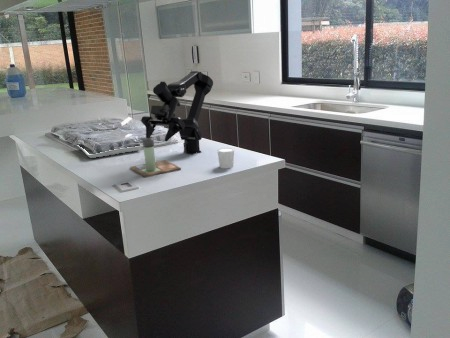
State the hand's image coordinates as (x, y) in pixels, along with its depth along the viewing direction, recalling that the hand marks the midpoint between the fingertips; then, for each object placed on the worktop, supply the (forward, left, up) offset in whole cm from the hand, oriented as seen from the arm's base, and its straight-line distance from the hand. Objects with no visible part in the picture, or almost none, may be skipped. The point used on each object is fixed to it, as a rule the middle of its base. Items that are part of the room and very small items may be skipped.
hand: (156, 140), depth 176 cm
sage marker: (+5, +3, -11) cm, 12 cm away
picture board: (+2, 0, -12) cm, 12 cm away
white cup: (-23, +16, -12) cm, 31 cm away
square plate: (+7, -47, -13) cm, 49 cm away
